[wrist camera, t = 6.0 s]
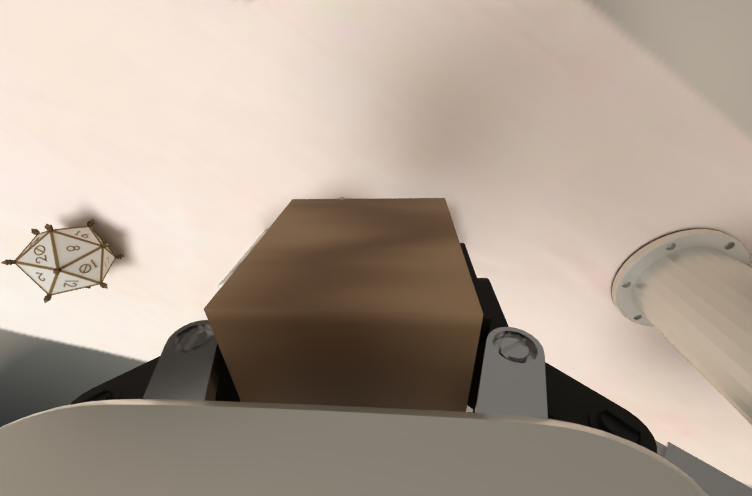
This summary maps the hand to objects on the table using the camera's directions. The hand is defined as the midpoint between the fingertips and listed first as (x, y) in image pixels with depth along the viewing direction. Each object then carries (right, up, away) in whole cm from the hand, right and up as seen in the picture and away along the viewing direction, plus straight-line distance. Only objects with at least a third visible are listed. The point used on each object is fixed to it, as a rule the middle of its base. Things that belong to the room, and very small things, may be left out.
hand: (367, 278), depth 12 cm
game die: (-33, +2, +27) cm, 43 cm away
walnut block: (0, +1, +1) cm, 1 cm away
